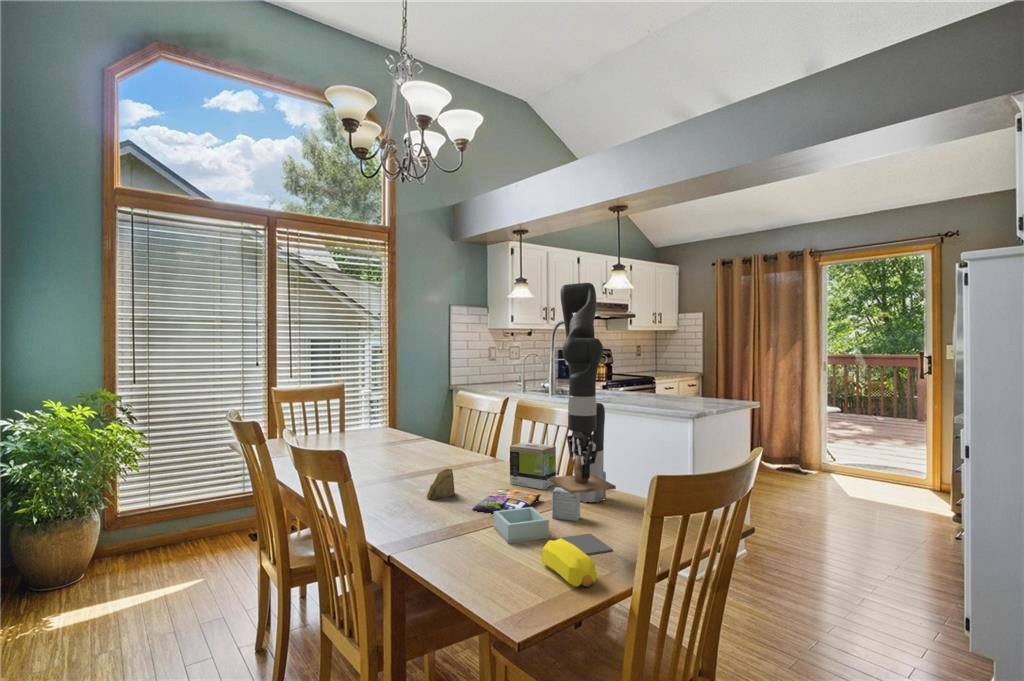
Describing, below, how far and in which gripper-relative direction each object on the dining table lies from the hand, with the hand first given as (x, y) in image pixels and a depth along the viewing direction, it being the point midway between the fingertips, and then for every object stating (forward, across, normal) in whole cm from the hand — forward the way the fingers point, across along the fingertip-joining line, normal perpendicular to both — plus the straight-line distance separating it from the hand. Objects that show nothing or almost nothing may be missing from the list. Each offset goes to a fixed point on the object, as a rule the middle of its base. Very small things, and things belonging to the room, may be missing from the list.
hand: (581, 476), depth 143 cm
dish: (+18, +14, +12) cm, 26 cm away
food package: (+19, +38, +8) cm, 44 cm away
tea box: (+19, +59, -11) cm, 63 cm away
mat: (+18, 0, 0) cm, 18 cm away
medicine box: (+19, +21, -6) cm, 29 cm away
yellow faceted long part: (+19, -14, +11) cm, 26 cm away
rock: (+19, +56, +25) cm, 64 cm away
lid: (+2, 0, 0) cm, 2 cm away
